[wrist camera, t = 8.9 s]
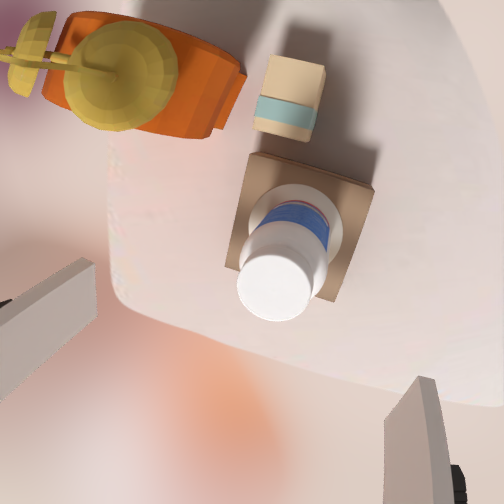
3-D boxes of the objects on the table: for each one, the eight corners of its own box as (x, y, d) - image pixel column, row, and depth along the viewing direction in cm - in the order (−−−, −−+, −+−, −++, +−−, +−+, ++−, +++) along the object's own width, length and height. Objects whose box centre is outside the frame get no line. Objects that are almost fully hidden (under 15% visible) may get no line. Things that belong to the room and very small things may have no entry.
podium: (258, 151, 27) (249, 153, 24) (371, 185, 25) (374, 191, 23) (234, 254, 31) (224, 267, 28) (335, 286, 29) (334, 303, 27)
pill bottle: (258, 202, 25) (213, 242, 17) (326, 194, 24) (319, 232, 15) (269, 266, 27) (234, 332, 18) (334, 261, 25) (328, 330, 17)
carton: (279, 64, 24) (269, 53, 20) (327, 75, 23) (324, 65, 19) (263, 129, 26) (251, 128, 23) (310, 141, 26) (305, 142, 22)
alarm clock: (266, 77, 24) (121, -13, 6) (237, 139, 27) (59, 164, 9) (147, 38, 25) (-26, -3, 7) (125, 92, 28) (-55, 94, 10)
